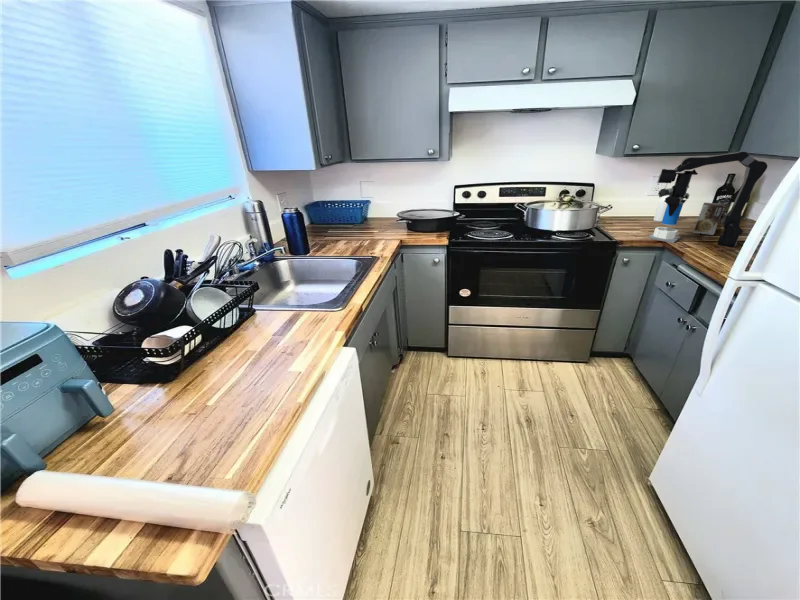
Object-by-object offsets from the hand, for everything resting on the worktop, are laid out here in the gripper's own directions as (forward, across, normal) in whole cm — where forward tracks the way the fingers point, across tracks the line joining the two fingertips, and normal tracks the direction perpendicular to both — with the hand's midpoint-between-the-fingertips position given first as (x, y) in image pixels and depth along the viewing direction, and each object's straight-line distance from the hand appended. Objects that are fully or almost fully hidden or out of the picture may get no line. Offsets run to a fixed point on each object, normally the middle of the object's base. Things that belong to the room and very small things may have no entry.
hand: (671, 214), depth 178 cm
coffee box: (+13, -27, +12) cm, 32 cm away
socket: (+13, 0, 0) cm, 13 cm away
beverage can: (+6, 0, 0) cm, 6 cm away
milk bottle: (+13, -43, -13) cm, 47 cm away
